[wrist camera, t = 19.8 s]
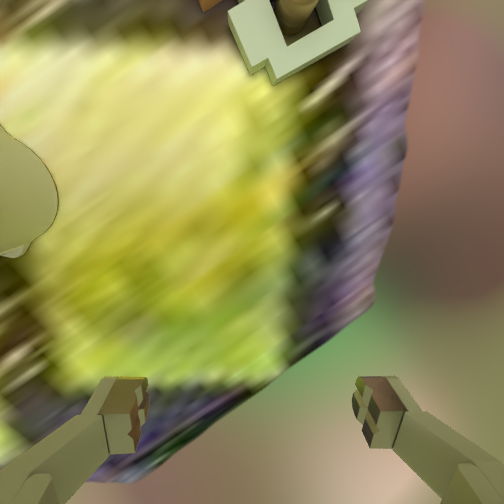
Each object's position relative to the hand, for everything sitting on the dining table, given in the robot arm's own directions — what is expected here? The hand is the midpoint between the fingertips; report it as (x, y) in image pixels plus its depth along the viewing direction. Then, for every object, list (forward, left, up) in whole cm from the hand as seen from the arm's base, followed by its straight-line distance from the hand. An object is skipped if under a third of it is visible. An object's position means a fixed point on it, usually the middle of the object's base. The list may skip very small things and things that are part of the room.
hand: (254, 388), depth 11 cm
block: (+5, +23, -31) cm, 39 cm away
